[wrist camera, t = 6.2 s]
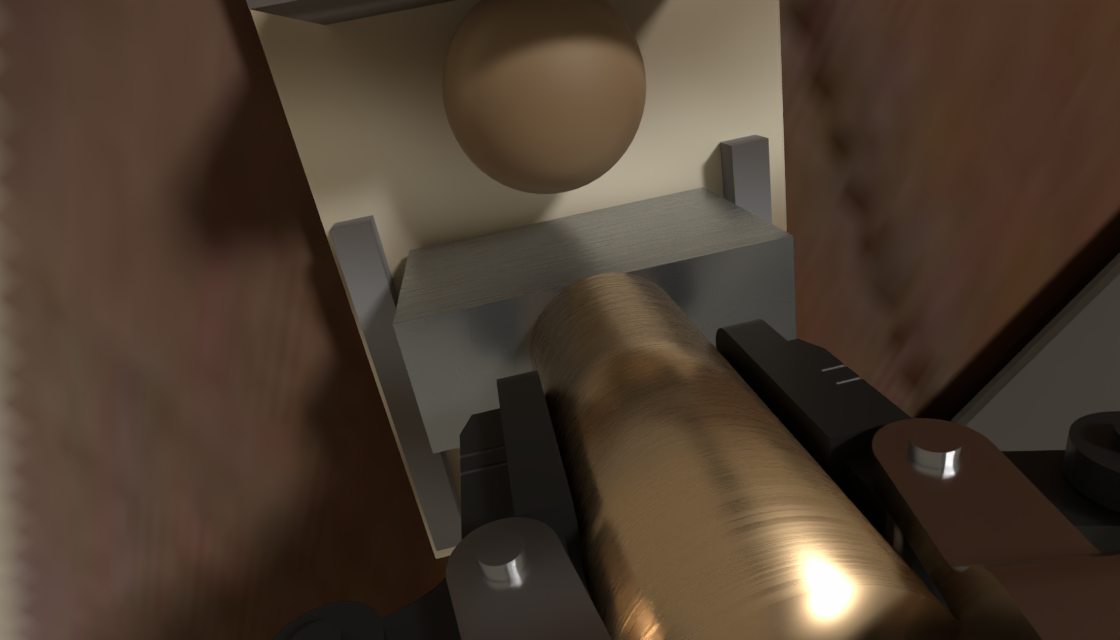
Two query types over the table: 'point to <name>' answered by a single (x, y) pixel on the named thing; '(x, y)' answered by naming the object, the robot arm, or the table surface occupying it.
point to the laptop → (1056, 374)
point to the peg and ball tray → (510, 139)
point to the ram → (660, 420)
